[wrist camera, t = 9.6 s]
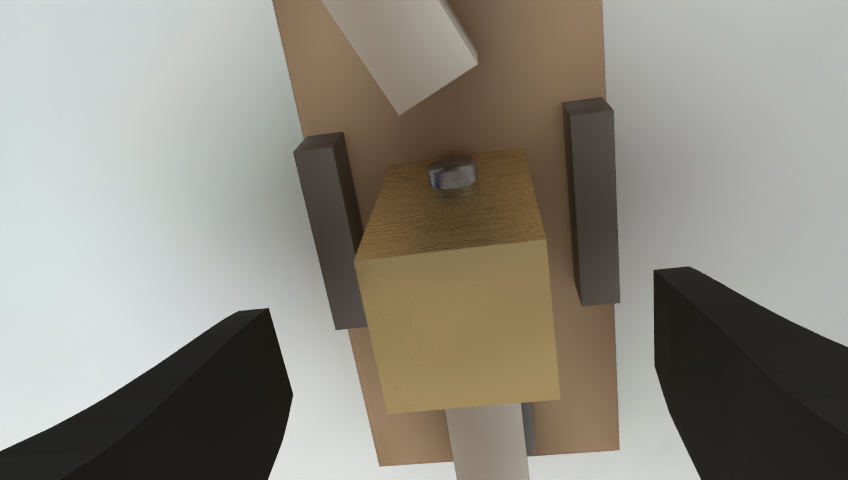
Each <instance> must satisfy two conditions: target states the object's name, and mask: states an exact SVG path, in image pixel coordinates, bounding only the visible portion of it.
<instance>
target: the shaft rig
mask: <svg viewBox="0 0 848 480" xmlns="http://www.w3.org/2000/svg"><path fill="white" fill-rule="evenodd" d="M272 2H273V6H274V10H275V15H276V19H277V23H278V28H279V32H280V36H281V41H282V45H283V49H284V54H285V58H286V62H287V67H288V71H289V75H290V80H291V84H292V89H293V93H294V97H295V102H296V106H297V110H298V115H299V119H300V123H301V128H302V132H303V136H304V141H303V142H302V143H301V144H300V145H299V146H298V147H297V149H296V150H295V151H294V152H293V153H294V158H295V162H296V166H297V170H298V174H299V178H300V183H301V187H302V191H303V195H304V199H305V204H306V208H307V212H308V216H309V220H310V224H311V229H312V233H313V237H314V241H315V245H316V250H317V254H318V258H319V262H320V266H321V270H322V275H323V279H324V283H325V287H326V291H327V296H328V300H329V304H330V308H331V312H332V316H333V321H334V325H335V329H336V330H341V329H348V332H349V336H350V340H351V345H352V349H353V353H354V358H355V362H356V367H357V371H358V375H359V380H360V384H361V388H362V393H363V397H364V401H365V406H366V410H367V414H368V419H369V423H370V427H371V432H372V436H373V440H374V445H375V449H376V453H377V458H378V462H379V466H394V465H409V464H423V463H438V462H453V461H454V465H455V471H456V477H457V480H529V471H528V462H527V456H541V455H556V454H570V453H585V452H600V451H614V450H620V448H619V423H618V397H617V371H616V346H615V320H614V303H620V285H619V257H618V228H617V199H616V170H615V141H614V112H613V109H612V108H611V107H610V106H609V105H608V103H607V102H606V89H605V63H604V37H603V12H602V0H272ZM521 147H523V150H524V154H525V158H526V162H527V166H528V170H529V174H530V177H531V181H532V185H533V189H534V193H535V197H536V201H537V205H538V209H539V213H540V217H541V221H542V225H543V228H544V232H545V236H546V242H547V253H548V264H549V275H550V287H551V298H552V309H553V320H554V331H555V342H556V353H557V364H558V376H559V387H560V398H561V400H549V401H537V402H525V403H513V404H501V405H489V406H477V407H465V408H453V409H441V410H429V411H417V412H405V413H393V414H387V410H386V405H385V401H384V396H383V392H382V387H381V383H380V378H379V374H378V369H377V365H376V360H375V356H374V351H373V347H372V342H371V338H370V333H369V329H368V324H367V320H366V315H365V311H364V306H363V302H362V297H361V293H360V288H359V284H358V279H357V275H356V270H355V266H354V258H355V256H356V253H357V251H358V248H359V245H360V243H361V240H362V237H363V235H364V232H365V230H366V227H367V224H368V222H369V219H370V216H371V214H372V211H373V209H374V206H375V203H376V201H377V198H378V195H379V193H380V190H381V188H382V185H383V182H384V180H385V177H386V174H387V172H388V169H389V167H390V165H392V164H400V163H407V162H415V161H423V160H430V159H438V158H445V157H453V156H460V155H468V154H475V153H483V152H490V151H498V150H506V149H513V148H521Z"/></svg>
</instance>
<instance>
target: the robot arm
mask: <svg viewBox="0 0 848 480" xmlns="http://www.w3.org/2000/svg"><path fill="white" fill-rule="evenodd" d="M654 358H655V369H656V372H657V375H658V378H659V382H660V385H661V388H662V392H663V395H664V398H665V401H666V404H667V407H668V410H669V413H670V415H671V417H672V419H673V421H674V424H675V426H676V428H677V430H678V432H679V434H680V436H681V438H682V441H683V443H684V445H685V447H686V449H687V451H688V453H689V455H690V457H691V459H692V462H693V464H694V466H695V468H696V470H697V472H698V474H699V476H700V478H701V480H848V347H846V346H844V345H842V344H839V343H837V342H834V341H832V340H830V339H827V338H825V337H823V336H821V335H819V334H817V333H814V332H812V331H810V330H808V329H806V328H804V327H802V326H800V325H797V324H795V323H793V322H791V321H789V320H787V319H785V318H783V317H781V316H779V315H777V314H775V313H774V312H772V311H770V310H768V309H766V308H764V307H762V306H760V305H759V304H757V303H755V302H753V301H751V300H749V299H748V298H746V297H744V296H742V295H741V294H739V293H737V292H735V291H733V290H732V289H730V288H728V287H726V286H725V285H723V284H721V283H719V282H718V281H716V280H714V279H712V278H711V277H709V276H707V275H705V274H703V273H701V272H700V271H698V270H696V269H693V268H691V267H679V268H669V269H659V270H654ZM292 398H293V392H292V389H291V385H290V382H289V378H288V375H287V371H286V368H285V364H284V361H283V357H282V354H281V350H280V346H279V343H278V339H277V336H276V332H275V329H274V325H273V322H272V318H271V315H270V311H269V308H265V309H255V310H245V311H238V312H236V313H234V314H232V315H230V316H229V317H227V318H225V319H224V320H222V321H220V322H219V323H217V324H216V325H214V326H213V327H211V328H210V329H208V330H207V331H205V332H204V333H202V334H201V335H200V336H198V337H197V338H195V339H194V340H192V341H191V342H189V343H188V344H187V345H185V346H184V347H182V348H181V349H179V350H178V351H176V352H175V353H174V354H172V355H171V356H169V357H168V358H166V359H165V360H163V361H162V362H161V363H159V364H158V365H156V366H154V367H153V368H151V369H150V370H148V371H147V372H145V373H144V374H142V375H141V376H139V377H137V378H136V379H134V380H133V381H131V382H130V383H128V384H127V385H125V386H123V387H122V388H120V389H119V390H117V391H116V392H114V393H113V394H111V395H109V396H108V397H106V398H104V399H103V400H101V401H99V402H97V403H96V404H94V405H92V406H90V407H89V408H87V409H85V410H83V411H81V412H80V413H78V414H76V415H74V416H72V417H70V418H68V419H66V420H65V421H63V422H61V423H59V424H57V425H55V426H53V427H51V428H49V429H47V430H45V431H43V432H41V433H39V434H37V435H34V436H32V437H30V438H28V439H26V440H24V441H21V442H19V443H17V444H15V445H13V446H11V447H8V448H6V449H4V450H2V451H0V480H268V478H269V475H270V472H271V470H272V467H273V465H274V462H275V460H276V457H277V454H278V452H279V449H280V446H281V444H282V441H283V437H284V433H285V429H286V425H287V421H288V417H289V412H290V407H291V403H292Z"/></svg>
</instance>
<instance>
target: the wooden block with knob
mask: <svg viewBox="0 0 848 480" xmlns="http://www.w3.org/2000/svg"><path fill="white" fill-rule="evenodd" d="M354 266H355V270H356V275H357V279H358V284H359V288H360V293H361V297H362V302H363V306H364V311H365V315H366V320H367V324H368V329H369V333H370V338H371V342H372V347H373V351H374V356H375V360H376V365H377V369H378V374H379V378H380V383H381V387H382V392H383V396H384V401H385V405H386V410H387V414H393V413H405V412H417V411H429V410H441V409H453V408H465V407H477V406H489V405H501V404H513V403H525V402H537V401H549V400H561V398H560V387H559V376H558V364H557V353H556V342H555V331H554V320H553V309H552V298H551V287H550V275H549V264H548V253H547V242H546V236H545V232H544V228H543V225H542V221H541V217H540V213H539V209H538V205H537V201H536V197H535V193H534V189H533V185H532V181H531V177H530V174H529V170H528V166H527V162H526V158H525V154H524V150H523V147H521V148H513V149H506V150H498V151H490V152H483V153H475V154H468V155H460V156H453V157H445V158H438V159H430V160H423V161H415V162H407V163H400V164H392V165H390V167H389V169H388V172H387V174H386V177H385V180H384V182H383V185H382V188H381V190H380V193H379V195H378V198H377V201H376V203H375V206H374V209H373V211H372V214H371V216H370V219H369V222H368V224H367V227H366V230H365V232H364V235H363V237H362V240H361V243H360V245H359V248H358V251H357V253H356V256H355V258H354Z"/></svg>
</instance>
